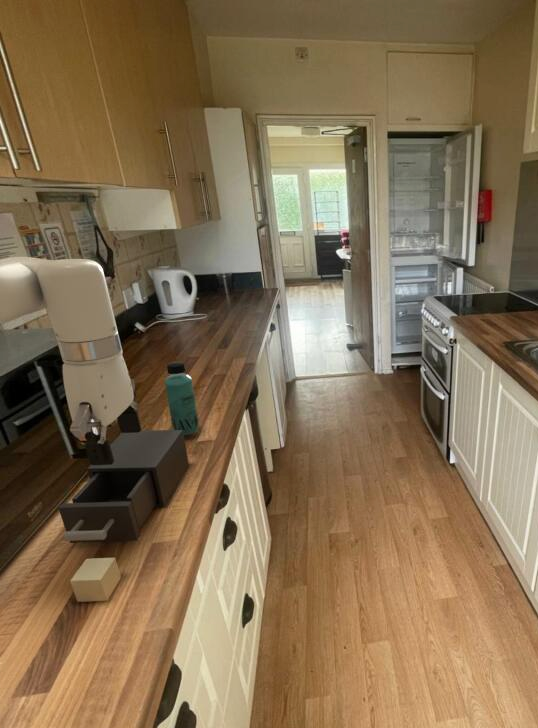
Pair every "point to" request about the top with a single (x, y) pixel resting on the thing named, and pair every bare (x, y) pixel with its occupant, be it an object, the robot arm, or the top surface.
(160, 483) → the drawer cabinet
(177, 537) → the top surface
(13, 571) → the top surface
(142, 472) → the drawer
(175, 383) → the beverage bottle
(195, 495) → the top surface
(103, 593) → the block
